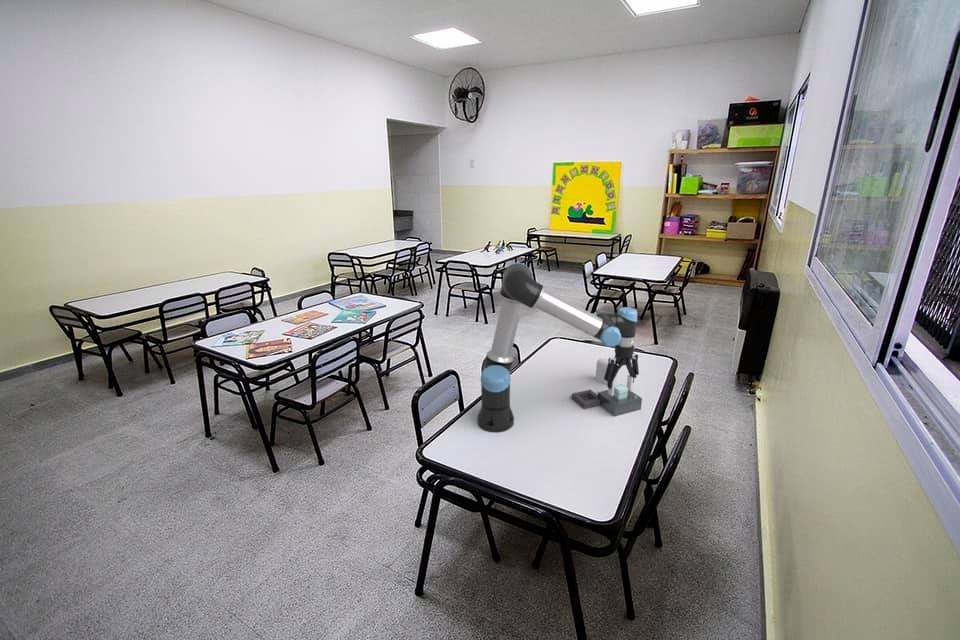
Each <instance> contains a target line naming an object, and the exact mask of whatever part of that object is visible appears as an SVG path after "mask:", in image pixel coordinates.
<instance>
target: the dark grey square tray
mask: <svg viewBox="0 0 960 640" xmlns="http://www.w3.org/2000/svg"><path fill="white" fill-rule="evenodd" d="M597 396H598V393H596V392H594V391H593V390H592V389H587V390H581V391H578V392H573V393H571V400H572V401H574V402H575V403H576V404H577V405H578V406H580V407H581V408H582V409H583V410H588V409H591V408H596V407H599V406H600V400H599V399H598V398H597ZM600 407H601V406H600Z"/></svg>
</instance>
